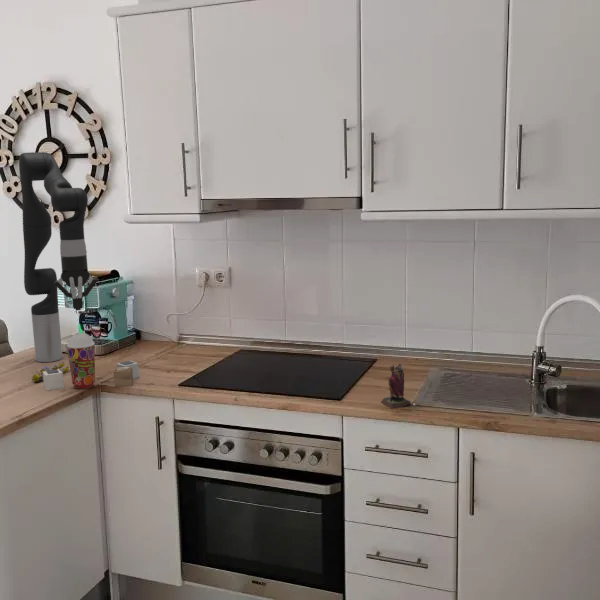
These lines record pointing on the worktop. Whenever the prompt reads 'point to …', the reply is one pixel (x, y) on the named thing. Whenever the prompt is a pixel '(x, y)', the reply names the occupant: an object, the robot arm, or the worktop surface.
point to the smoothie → (82, 359)
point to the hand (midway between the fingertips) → (78, 309)
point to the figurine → (396, 389)
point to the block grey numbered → (130, 364)
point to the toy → (40, 371)
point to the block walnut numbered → (123, 376)
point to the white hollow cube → (53, 379)
